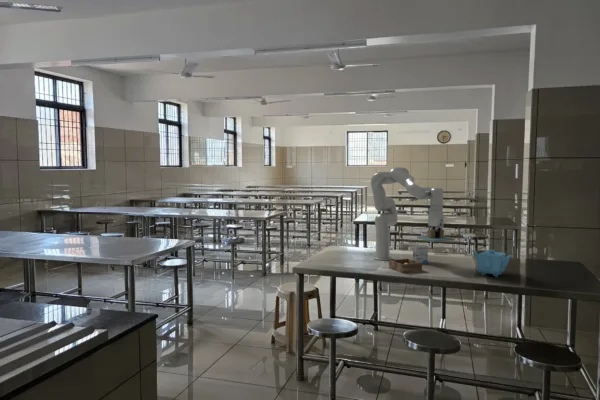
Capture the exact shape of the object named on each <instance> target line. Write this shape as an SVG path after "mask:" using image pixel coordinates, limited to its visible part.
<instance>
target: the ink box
mask: <svg viewBox="0 0 600 400" xmlns="http://www.w3.org/2000/svg"><path fill="white" fill-rule="evenodd" d="M412 248H413V249H412V260H414V261H417V262H420V263H422V264H424V265H427V264H428V260H429V246H428V245H424V244H423V245H413V246H412Z"/></svg>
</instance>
